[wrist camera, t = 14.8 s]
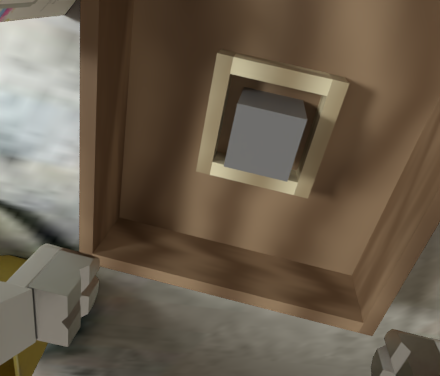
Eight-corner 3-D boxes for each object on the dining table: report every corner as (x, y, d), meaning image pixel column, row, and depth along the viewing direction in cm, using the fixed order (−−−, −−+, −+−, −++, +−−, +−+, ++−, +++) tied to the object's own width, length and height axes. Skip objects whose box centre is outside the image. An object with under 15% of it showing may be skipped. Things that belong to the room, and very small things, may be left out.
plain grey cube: (232, 141, 26) (223, 166, 22) (244, 86, 24) (237, 103, 20) (286, 154, 26) (287, 181, 22) (303, 100, 24) (307, 119, 20)
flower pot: (73, 318, 39) (21, 399, 31) (-3, 298, 40) (-74, 372, 32) (74, 256, 35) (13, 331, 27) (-12, 234, 35) (-96, 301, 27)
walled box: (112, 217, 32) (79, 260, 27) (132, -127, 21) (80, -170, 15) (356, 279, 31) (372, 336, 26) (520, -46, 20) (606, -62, 14)
